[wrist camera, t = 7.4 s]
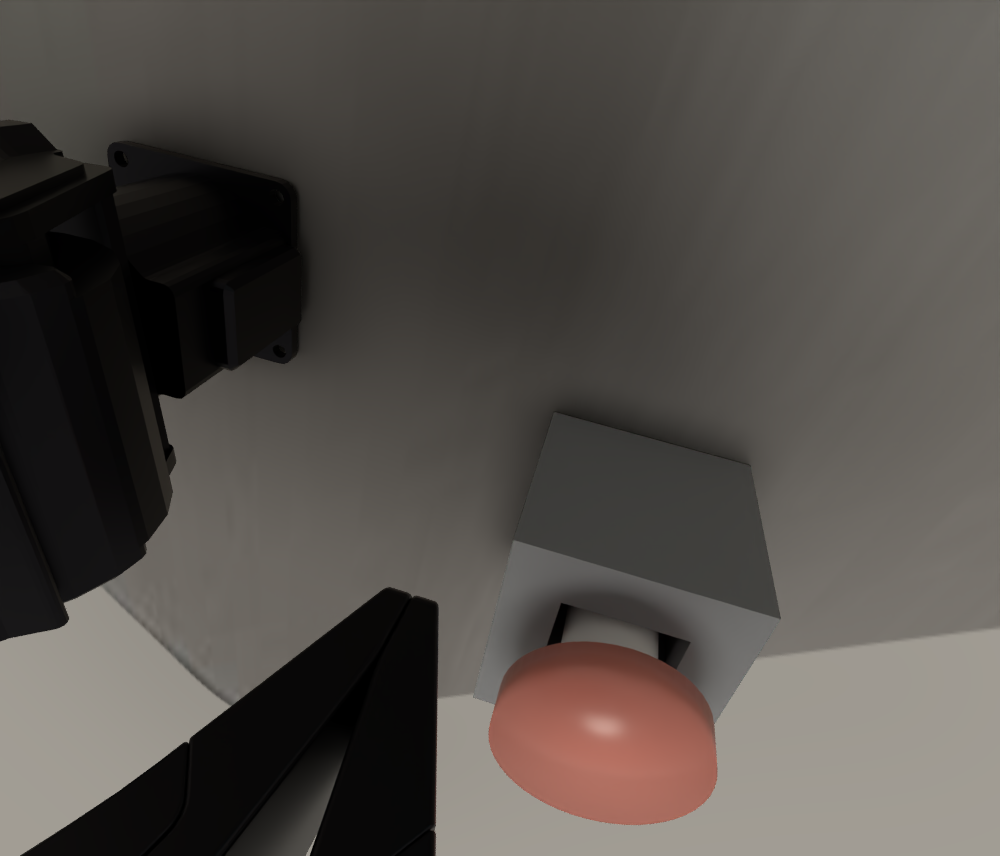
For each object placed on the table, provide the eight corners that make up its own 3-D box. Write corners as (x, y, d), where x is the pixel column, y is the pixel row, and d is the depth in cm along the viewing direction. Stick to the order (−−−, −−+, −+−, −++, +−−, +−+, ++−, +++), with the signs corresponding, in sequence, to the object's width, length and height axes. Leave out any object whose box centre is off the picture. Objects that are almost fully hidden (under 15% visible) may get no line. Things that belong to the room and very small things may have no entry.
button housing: (517, 552, 26) (472, 697, 20) (553, 411, 22) (512, 539, 16) (682, 602, 25) (687, 766, 19) (750, 465, 22) (781, 619, 16)
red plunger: (525, 587, 24) (473, 780, 17) (558, 470, 20) (510, 653, 14) (671, 631, 23) (672, 848, 17) (728, 518, 20) (755, 731, 14)
